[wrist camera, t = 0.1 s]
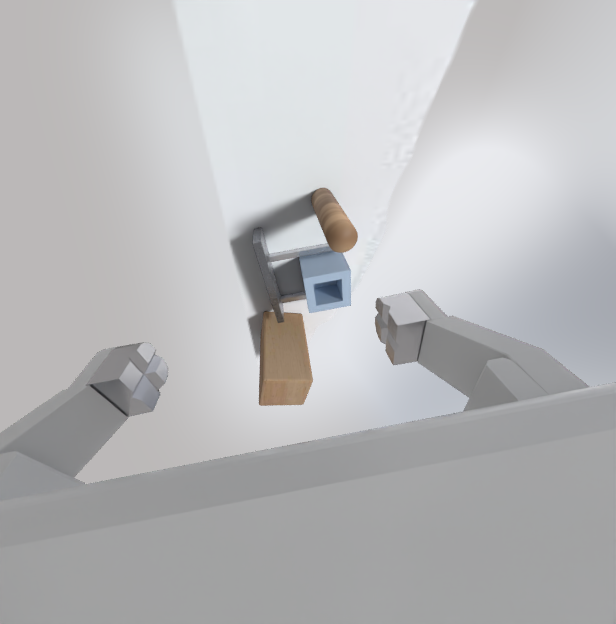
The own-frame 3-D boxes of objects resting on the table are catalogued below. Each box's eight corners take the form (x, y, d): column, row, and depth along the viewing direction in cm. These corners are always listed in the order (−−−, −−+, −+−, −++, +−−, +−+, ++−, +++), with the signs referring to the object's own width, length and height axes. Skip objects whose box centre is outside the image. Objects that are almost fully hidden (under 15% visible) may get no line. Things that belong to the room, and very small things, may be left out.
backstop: (253, 229, 45) (252, 243, 41) (333, 214, 45) (341, 227, 41) (276, 306, 59) (277, 323, 54) (338, 294, 59) (344, 311, 54)
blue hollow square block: (298, 257, 50) (303, 278, 44) (340, 249, 50) (350, 269, 44) (304, 290, 56) (309, 313, 50) (342, 283, 56) (350, 305, 50)
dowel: (309, 190, 42) (326, 227, 30) (332, 186, 42) (357, 221, 30) (312, 212, 44) (329, 255, 33) (333, 209, 44) (357, 249, 33)
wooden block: (260, 337, 66) (258, 406, 51) (263, 310, 59) (262, 381, 45) (295, 338, 68) (303, 405, 53) (302, 313, 61) (313, 381, 47)
